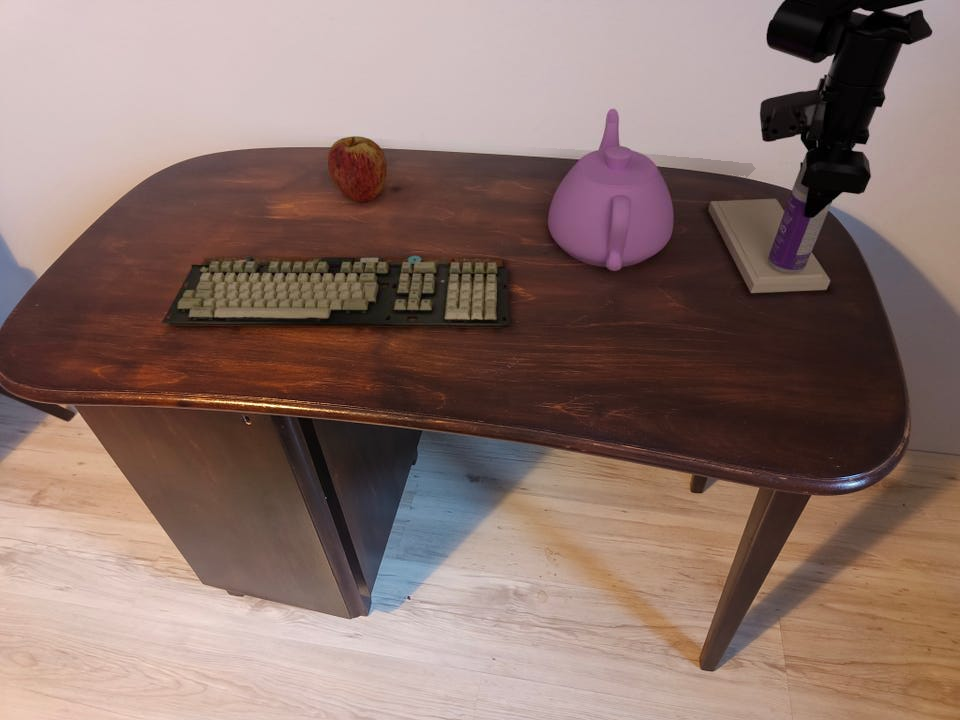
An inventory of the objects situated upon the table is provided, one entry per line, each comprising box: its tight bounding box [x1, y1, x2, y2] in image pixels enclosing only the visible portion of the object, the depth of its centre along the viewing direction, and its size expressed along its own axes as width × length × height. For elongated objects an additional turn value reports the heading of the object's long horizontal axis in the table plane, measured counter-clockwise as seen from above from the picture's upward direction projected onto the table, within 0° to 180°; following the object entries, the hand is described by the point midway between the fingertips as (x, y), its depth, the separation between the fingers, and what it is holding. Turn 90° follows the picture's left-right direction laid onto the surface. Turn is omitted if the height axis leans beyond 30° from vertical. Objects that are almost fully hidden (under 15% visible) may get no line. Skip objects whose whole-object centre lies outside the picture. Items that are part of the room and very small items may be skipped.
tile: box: [708, 198, 831, 294], centre depth 90 cm, size 20×10×2 cm, turn 2°
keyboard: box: [161, 255, 511, 329], centre depth 86 cm, size 45×15×2 cm, turn 88°
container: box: [768, 148, 833, 273], centre depth 79 cm, size 5×5×15 cm
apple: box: [327, 135, 388, 203], centre depth 100 cm, size 9×9×10 cm
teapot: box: [547, 108, 675, 272], centre depth 90 cm, size 25×18×14 cm
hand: (808, 205), depth 78 cm, fingers closed on container, 5 cm apart
